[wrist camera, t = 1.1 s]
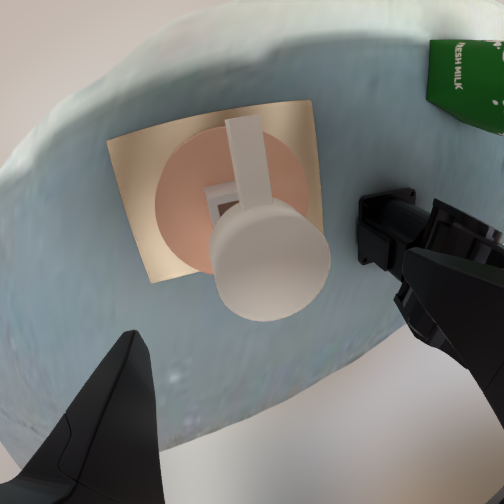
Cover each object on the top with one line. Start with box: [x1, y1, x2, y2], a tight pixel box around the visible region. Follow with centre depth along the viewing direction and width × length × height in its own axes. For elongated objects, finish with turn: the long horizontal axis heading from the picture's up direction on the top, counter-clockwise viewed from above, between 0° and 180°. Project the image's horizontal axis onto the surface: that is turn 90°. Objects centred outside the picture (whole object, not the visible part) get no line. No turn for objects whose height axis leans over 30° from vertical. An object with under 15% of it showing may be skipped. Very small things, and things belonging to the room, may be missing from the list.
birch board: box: [107, 100, 324, 284], centre depth 19 cm, size 14×11×1 cm
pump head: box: [209, 115, 331, 321], centre depth 11 cm, size 4×7×5 cm, turn 9°
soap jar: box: [155, 126, 309, 275], centre depth 16 cm, size 9×9×6 cm
